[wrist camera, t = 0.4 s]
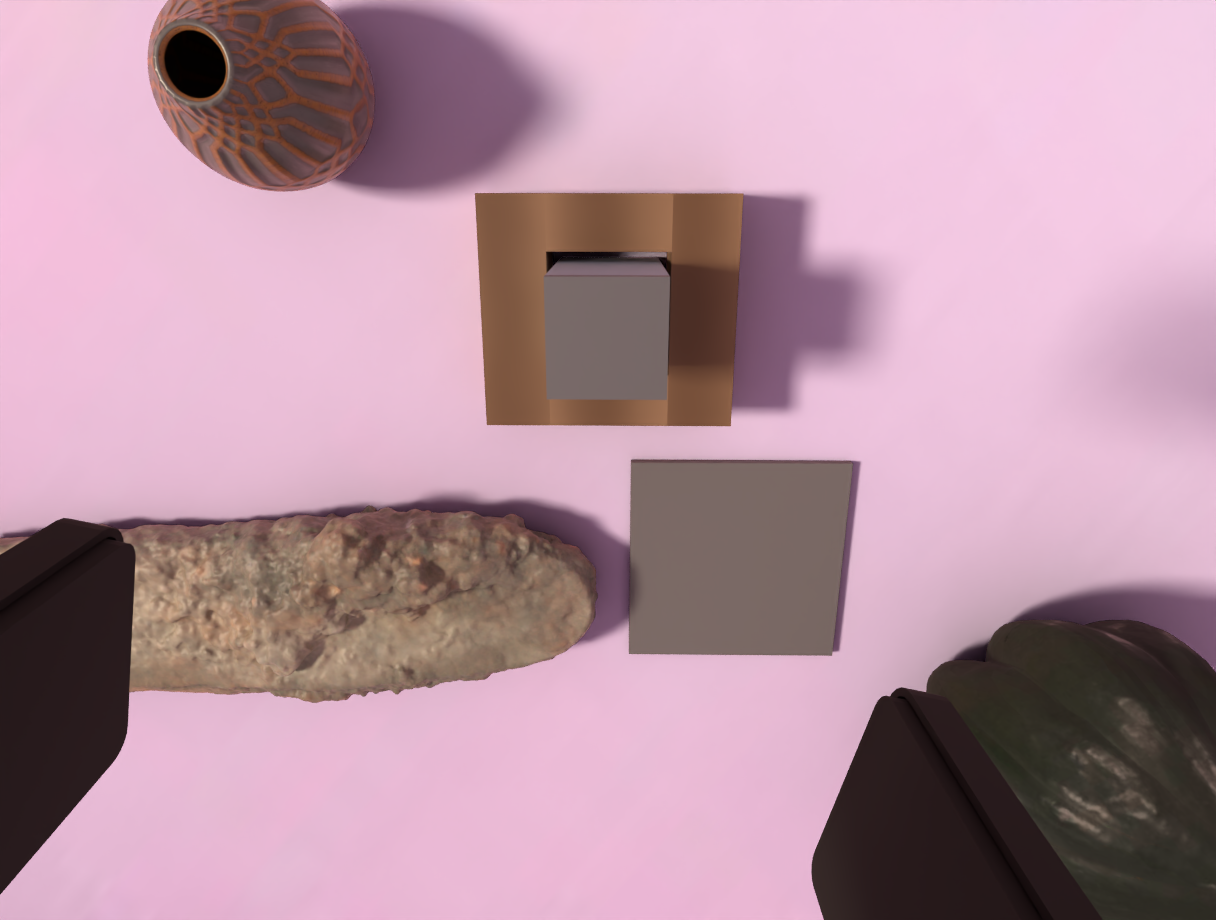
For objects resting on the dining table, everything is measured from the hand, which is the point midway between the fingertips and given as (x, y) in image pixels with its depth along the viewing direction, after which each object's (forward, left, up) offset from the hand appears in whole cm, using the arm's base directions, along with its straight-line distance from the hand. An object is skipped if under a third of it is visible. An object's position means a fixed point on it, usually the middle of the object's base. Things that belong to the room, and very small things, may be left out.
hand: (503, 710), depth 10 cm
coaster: (-7, +10, -25) cm, 28 cm away
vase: (+11, -10, -26) cm, 29 cm away
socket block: (-1, -2, -25) cm, 25 cm away
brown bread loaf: (+17, +12, -26) cm, 33 cm away
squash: (-22, +18, -26) cm, 38 cm away
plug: (-1, -2, -25) cm, 26 cm away
